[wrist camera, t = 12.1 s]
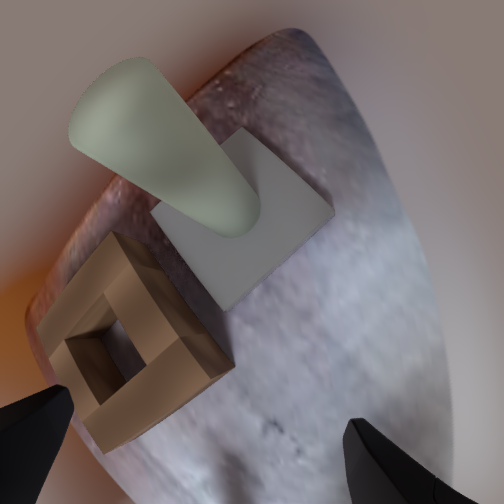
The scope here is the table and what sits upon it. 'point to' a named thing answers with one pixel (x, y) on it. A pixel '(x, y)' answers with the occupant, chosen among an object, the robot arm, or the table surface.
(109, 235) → the walnut pocket block
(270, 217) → the slate tile
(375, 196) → the table surface
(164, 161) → the sage peg
